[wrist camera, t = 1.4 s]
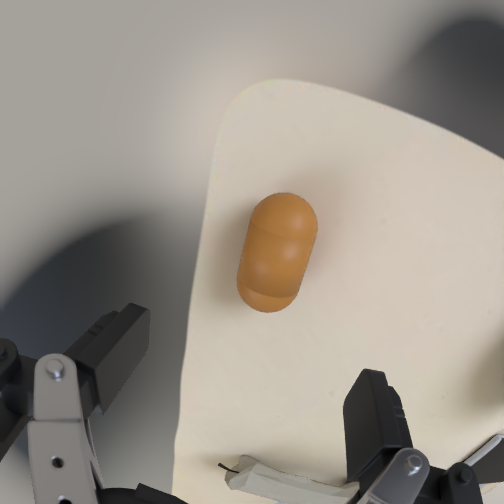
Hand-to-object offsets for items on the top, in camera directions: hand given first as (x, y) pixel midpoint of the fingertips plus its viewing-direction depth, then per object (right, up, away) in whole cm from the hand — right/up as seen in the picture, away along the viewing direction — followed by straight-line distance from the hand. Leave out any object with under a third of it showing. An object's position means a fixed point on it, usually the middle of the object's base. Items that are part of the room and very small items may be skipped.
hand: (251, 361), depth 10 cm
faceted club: (+8, -26, +22) cm, 35 cm away
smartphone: (+46, -34, +19) cm, 60 cm away
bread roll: (+2, +4, +12) cm, 13 cm away
